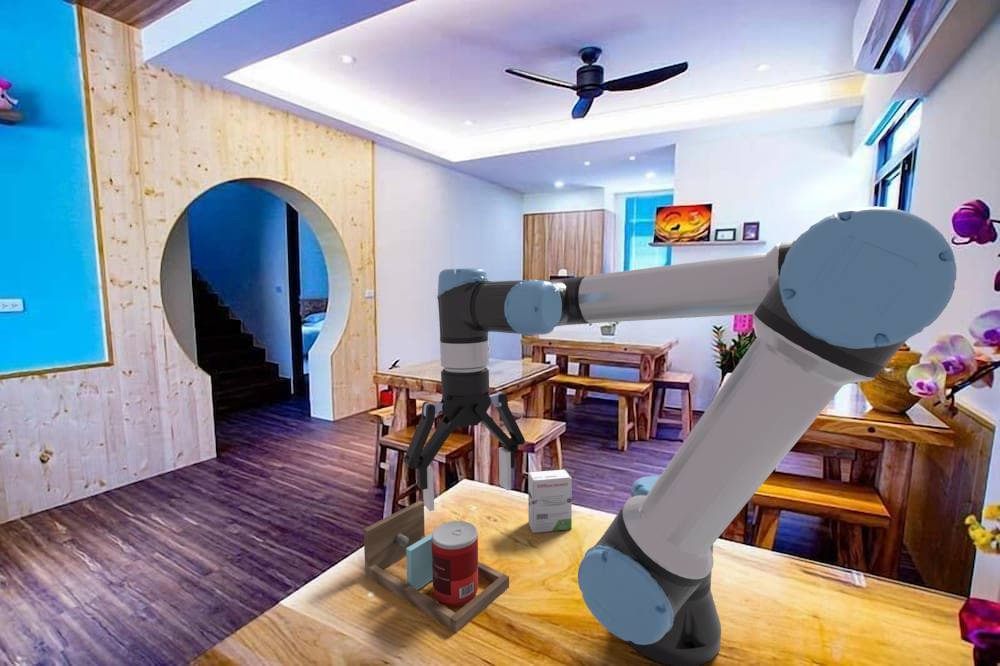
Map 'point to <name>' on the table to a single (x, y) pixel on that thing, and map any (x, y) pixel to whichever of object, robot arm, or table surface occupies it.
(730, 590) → the table surface
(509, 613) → the table surface
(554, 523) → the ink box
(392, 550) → the brown open rectangular frame
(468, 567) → the canned food
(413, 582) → the panel
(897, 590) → the table surface
